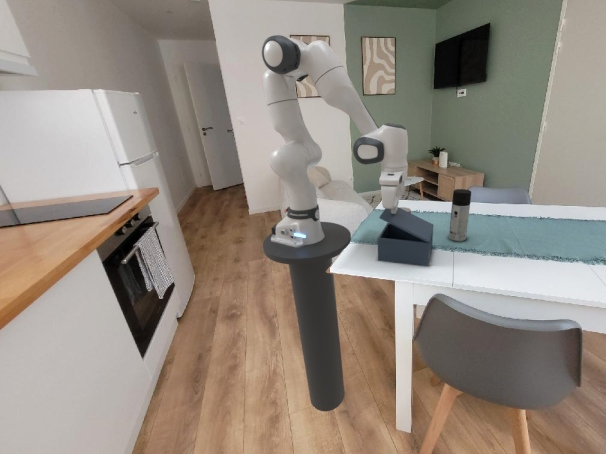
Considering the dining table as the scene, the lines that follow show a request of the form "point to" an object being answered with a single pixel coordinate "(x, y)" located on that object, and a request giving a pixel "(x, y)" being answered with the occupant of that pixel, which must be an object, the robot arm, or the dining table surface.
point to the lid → (408, 223)
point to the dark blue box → (403, 247)
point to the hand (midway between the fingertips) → (394, 212)
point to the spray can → (459, 214)
